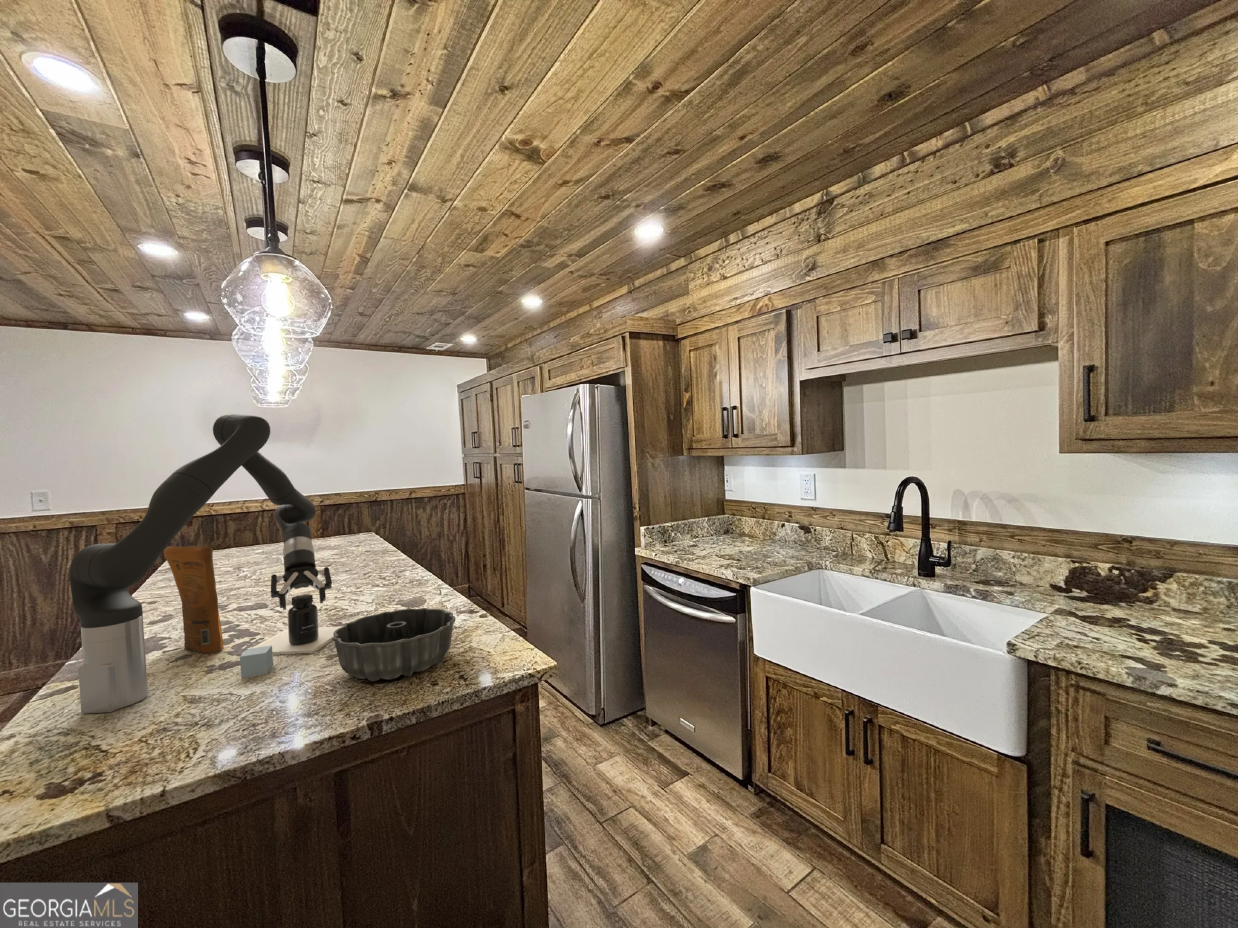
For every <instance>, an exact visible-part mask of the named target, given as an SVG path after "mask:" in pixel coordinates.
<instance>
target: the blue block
mask: <svg viewBox="0 0 1238 928" xmlns="http://www.w3.org/2000/svg"><path fill="white" fill-rule="evenodd" d="M250 648H251V649H250ZM250 648H247V649H246V650H244V651H243V652H244V653H243V652H242V653H243V654H241V655H240V656H239V663H240V675H241V677H240V678H241V679H243V678H249V677H255V676H261V675H267V674H268V673H269V672H270V671H269V670H271V669H272V668H273V667H274V657H273V656H274V655H273V653H272V645H271V646H265V647H258V648H252V647H250ZM272 666H273V667H272ZM268 671H269V672H268Z"/></svg>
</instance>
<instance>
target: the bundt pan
mask: <svg viewBox="0 0 1238 928" xmlns="http://www.w3.org/2000/svg"><path fill="white" fill-rule="evenodd" d="M455 622H456V616H455V615H454V612H452V611H447V610H445V609H444V608H443V609H442V608H429V607H421V608H404V609H403V608H402V609H398V610H392V611H383V612H380V613H378V614H377V613H376V614H371V615H367V616H363V617H359V618H358V619H355V620H353V621H350V622H347V623H344V624H343V627H341V628H339V629H337V630H335V631H334V633H333V634H334V637H332V641H331V642H334V645H335V650H336V654H337V658H338V663H339V666H340V668H341V669H342V671H343V672H345V673H346V674H348V675H351V676H353V677H354V678H357V679H360V680H361V679H362V680H369V681H370V682H377V681H379V680H380V679H383V680H394V679H396V678H399V677H400V676H401V675H402V676H405V677H411V676H412V675H413V673H414V672H417V673H419V672H423V671H426V670H428V669H429V668H430V667H432V666H436V665H438V664H439V663H440V662H441V661H443V659H444V657H445V656H446V654H447V653H448V651H449V649H450V647H451V644H452V635H453V628H454V623H455Z"/></svg>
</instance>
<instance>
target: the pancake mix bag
mask: <svg viewBox="0 0 1238 928" xmlns="http://www.w3.org/2000/svg"><path fill="white" fill-rule="evenodd" d="M213 551H214V548H211V547H209V546H204V545H202V546H201V545H186V546H169V545H168V546H166V548H165V549H164V550H163V555H164V558H165V559H166V562H167V563H168V565H169V567H170V570H171V573H172V576H173V578H174V582H175V585H176V586H175V587H177V591H178V593H179V597H180V601H181V614H182V623H183V624H182V625H183V633H184V637H183V639H184V649H185V650H190V651H194V652H198V653H200V654H212V653H218V652H222V651H223V649H224V648H225V647H224V639H223V638H224V637H223V630H222V624H221V623H222V622H221V619H220V611H219V597H218V593H217V592H218V591H217V583H216V576H215V569H214V568H215V567H214V558H213V557H214V556H213V555H214V553H213Z"/></svg>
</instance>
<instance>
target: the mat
mask: <svg viewBox="0 0 1238 928" xmlns="http://www.w3.org/2000/svg"><path fill="white" fill-rule="evenodd" d="M343 626H344V625H343ZM343 626H340V625H339V626H320V627H319V626H318V639H317V640H315V641H313V642H311V643H307V644H302V645H291V644H290V643H289V634H288V628H286V629H284V630H283V631H282V630H281V631H280V632H278V633H276V634H275V635H273V636H271V637H268V639H266V640H264V641H262V642H259V643H258V644H256V645H255V646H253V647H250V648H249V649H251V648H258V647H265V646H271V645H272V653H273V656H284V655H283V654H286V655H296V654H295V653H308V654H314V653H316V652H317V651H319V650H320V649H322V648H323V647H324V646H326V645H328V644H329V643H330V642H333V641H332V637H334V634H333V633H334V631H335V630H337V629H339V628H341V627H343ZM328 642H329V643H328ZM316 650H317V651H316ZM244 652H245V651H243V652H241V653H240V654H241V655H242V654H243V653H244ZM291 653H292V654H291ZM280 654H282V655H280Z"/></svg>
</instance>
